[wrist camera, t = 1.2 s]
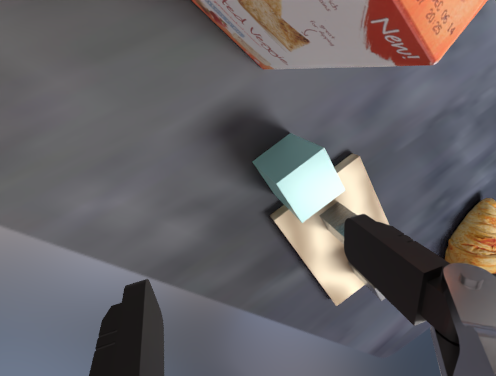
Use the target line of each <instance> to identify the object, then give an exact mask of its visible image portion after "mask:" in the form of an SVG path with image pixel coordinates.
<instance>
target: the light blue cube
mask: <svg viewBox="0 0 496 376" xmlns="http://www.w3.org/2000/svg"><path fill="white" fill-rule="evenodd" d="M252 162H253V164H254V165H255V167H256V168H257V170H258V171H259V173H260V174H261V175H262V177H263V178H264V180H265V181H266V183H267V184H268V186H269V187H270V189H271V190H272V192H273V193H274V195H275V196H276V197H277V198H278V199H279V200H280V201H281V202H282V203H283V204H284V205H285V206H286V207H287V208H288V209H289V210H290V211H291V212H292V213H293V214H294V215H295V216H296V217H297V218H298V219H299V220H300V221H301V222H302V223H303V222H304V221H306V220H307V219H308V218H310V217H311V216H312V215H314V214H315V213H316V212H317V211H319V210H320V209H321V208H323V207H324V206H325V205H327V204H328V203H329V202H331V201H332V200H333V199H335V198H336V197H337V196H339V195H340V194H341V193H343V192H344V191H345V188H344V186H343V184H342V182H341V180H340V178H339V176H338V174H337V172H336V170H335V168H334V166H333V164H332V162H331V160H330V158H329V156H328V154H327V152H326V150H325V148H324V147H321V146H319V145H317V144H314V143H312V142H310V141H307V140H305V139H303V138H300V137H298V136H296V135H293V134H291V133H290V134H288V135H287V136H286V137H284V138H283V139H282V140H280V141H279V142H278V143H276V144H275V145H274V146H272V147H271V148H270V149H268V150H267V151H266V152H264V153H263V154H262V155H260V156H259V157H258V158H256V159H255V160H254V161H252Z"/></svg>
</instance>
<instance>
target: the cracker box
mask: <svg viewBox="0 0 496 376" xmlns="http://www.w3.org/2000/svg"><path fill="white" fill-rule="evenodd" d="M192 1H193V2H194V3H195V4H196V5H197V6H198V7H199V8H200V9H201V10H202V11H203V12H204V13H205V14H206V15H207V16H208V17H209V18H210V19H211V20H212V21H213V22H214V23H216V24H217V25H218V26H219V27H220V28H221V29H222V30H223V31H224V32H225V33H226V34H227V35H228V36H229V37H230V38H231V39H232V40H233V41H234V42H235V43H236V44H237V45H238V46H239V47H240V48H241V49H243V50H244V51H245V52H246V53H247V54H248V55H249V56H250V57H251V58H252V59H253V60H254V61H255V62H256V63H257V64H258V65H259V66H260V67H261V68H262V69H296V68H336V67H381V66H415V65H434V64H436V63H438V61H439V60H440V59H441V58H442V56H443V55H444V54H445V53H446V51H447V50H448V49H449V48H450V46H451V45H452V44H453V43H454V41H455V40H456V39H457V38H458V36H459V35H460V34H461V33H462V31H463V30H464V29H465V28H466V26H467V25H468V24H469V23H470V21H471V20H472V19H473V18H474V16H475V15H476V14H477V13H478V12H479V10H480V9H481V8H482V7H483V5H484V4H485V3H486V2H487V0H192Z"/></svg>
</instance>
